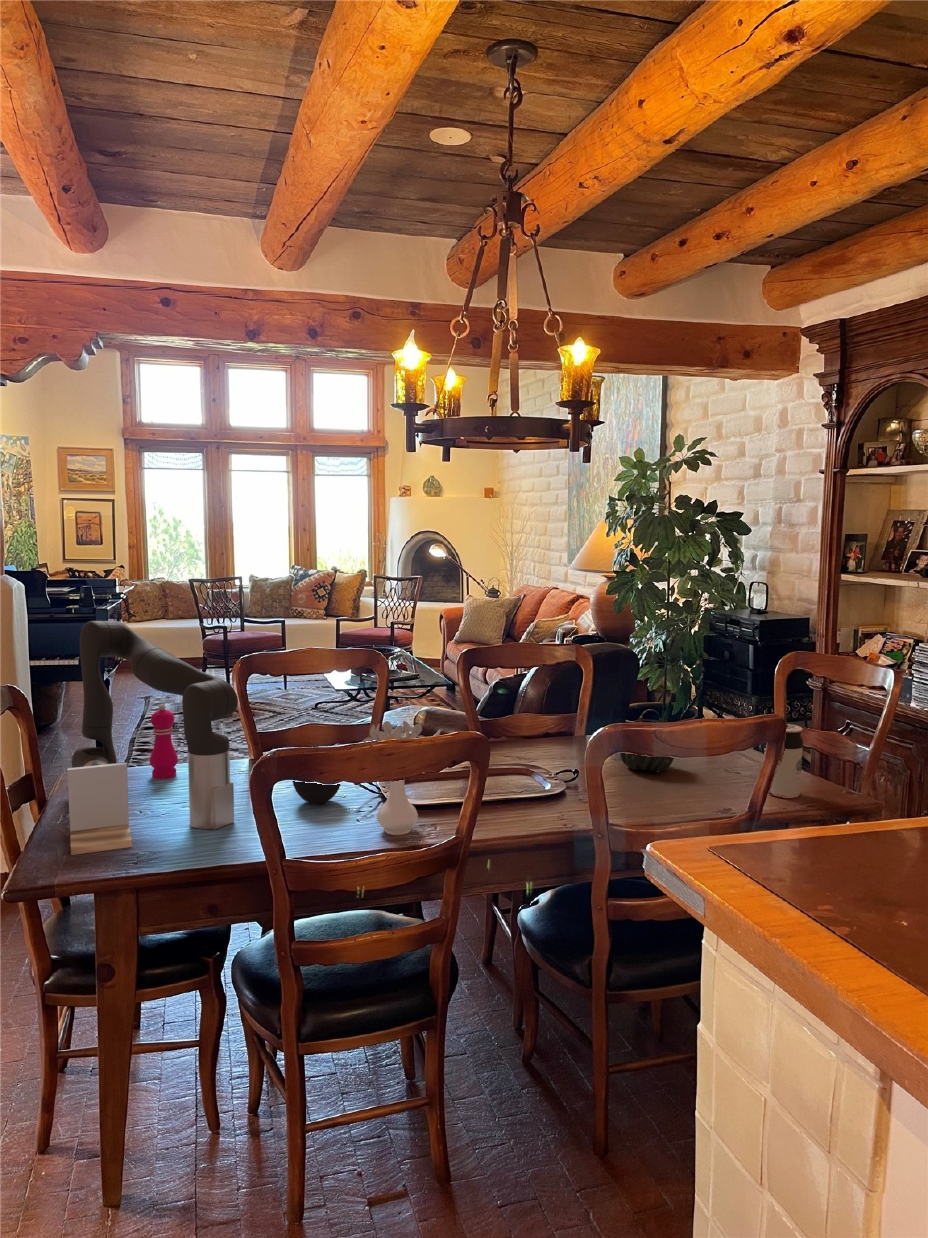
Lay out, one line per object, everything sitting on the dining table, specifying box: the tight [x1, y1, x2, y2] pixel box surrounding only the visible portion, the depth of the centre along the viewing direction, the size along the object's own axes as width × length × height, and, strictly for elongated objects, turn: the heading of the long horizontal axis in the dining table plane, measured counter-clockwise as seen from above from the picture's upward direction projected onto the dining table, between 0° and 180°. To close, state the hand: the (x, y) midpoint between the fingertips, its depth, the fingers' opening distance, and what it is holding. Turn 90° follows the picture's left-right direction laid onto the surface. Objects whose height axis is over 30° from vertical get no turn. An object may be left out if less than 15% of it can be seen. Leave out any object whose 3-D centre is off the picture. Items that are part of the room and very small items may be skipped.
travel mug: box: [771, 723, 804, 796], centre depth 228 cm, size 8×8×18 cm
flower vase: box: [360, 720, 442, 836], centre depth 199 cm, size 13×18×25 cm
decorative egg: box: [292, 743, 342, 805], centre depth 217 cm, size 12×12×15 cm
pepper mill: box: [149, 703, 179, 780], centre depth 238 cm, size 7×7×20 cm
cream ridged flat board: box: [69, 823, 133, 856], centre depth 195 cm, size 20×12×2 cm, turn 25°
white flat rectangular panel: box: [67, 761, 130, 833], centre depth 192 cm, size 1×12×14 cm, turn 115°
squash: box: [619, 721, 675, 772], centre depth 250 cm, size 14×15×15 cm
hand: (98, 801), depth 193 cm, fingers closed
